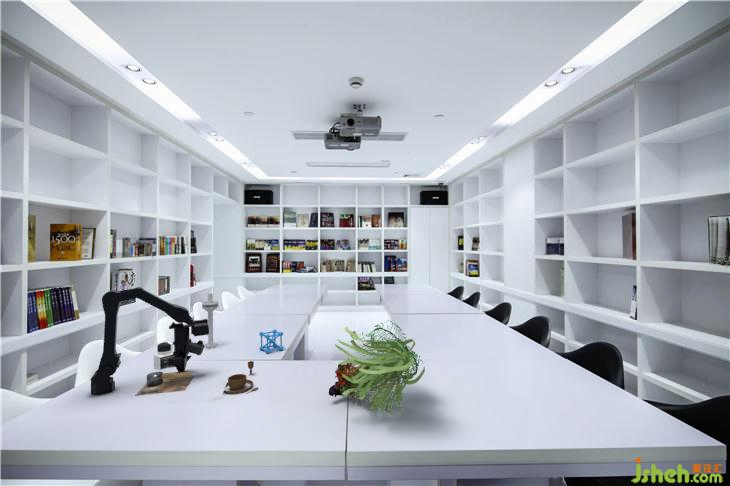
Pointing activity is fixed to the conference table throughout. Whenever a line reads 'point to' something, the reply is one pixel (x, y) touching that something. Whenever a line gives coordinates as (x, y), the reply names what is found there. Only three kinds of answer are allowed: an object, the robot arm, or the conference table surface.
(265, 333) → the molecular structure
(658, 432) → the conference table surface
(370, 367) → the plant
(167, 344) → the medicine bottle
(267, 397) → the conference table surface
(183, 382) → the base plate
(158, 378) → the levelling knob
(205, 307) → the model tower
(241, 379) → the place setting
